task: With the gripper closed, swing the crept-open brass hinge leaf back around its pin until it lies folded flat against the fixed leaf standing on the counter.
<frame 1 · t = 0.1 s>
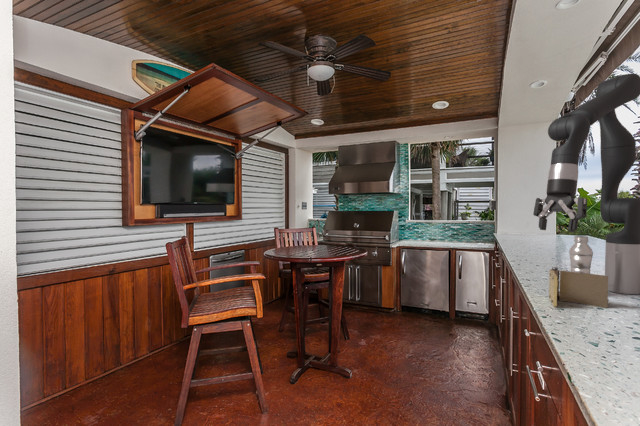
hand: (556, 230, 102), 23 cm above the countertop, tool pointing down, fingers open, 8 cm apart
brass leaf: (555, 286, 102), point 5 cm above the countertop, hinge at 75.0°
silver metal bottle: (579, 295, 111), on the countertop
hinge mount: (577, 302, 102), on the countertop
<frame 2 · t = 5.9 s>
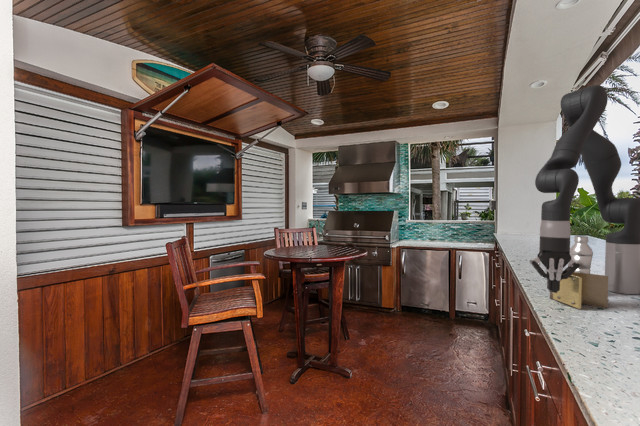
hand: (553, 292, 99), 4 cm above the countertop, tool pointing down, fingers closed
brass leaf: (565, 287, 101), point 5 cm above the countertop, hinge at 43.8°, touching hand
everything else where it was.
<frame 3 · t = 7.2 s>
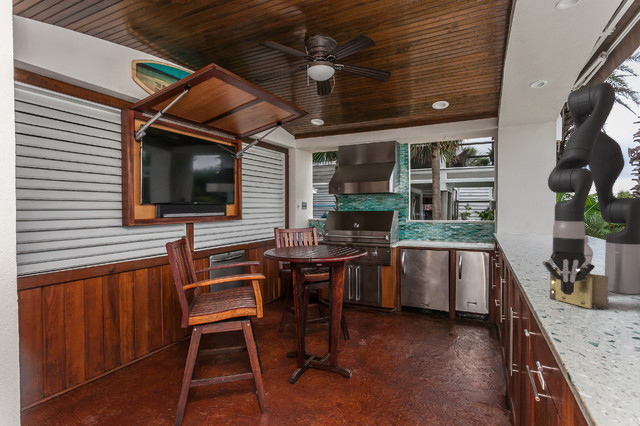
hand: (566, 293, 97), 4 cm above the countertop, tool pointing down, fingers closed
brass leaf: (570, 287, 101), point 5 cm above the countertop, hinge at 26.5°, touching hand
everything else where it was.
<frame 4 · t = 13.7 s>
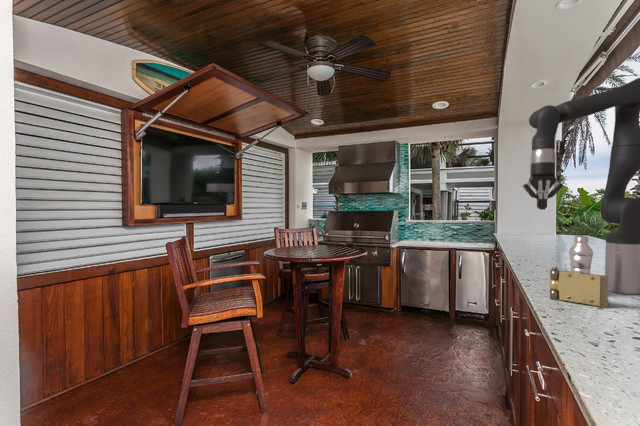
hand: (541, 209, 120), 29 cm above the countertop, tool pointing down, fingers closed
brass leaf: (574, 286, 102), point 5 cm above the countertop, hinge at -0.3°
everything else where it was.
at the end: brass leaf at +0° (first picture: +75°) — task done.
